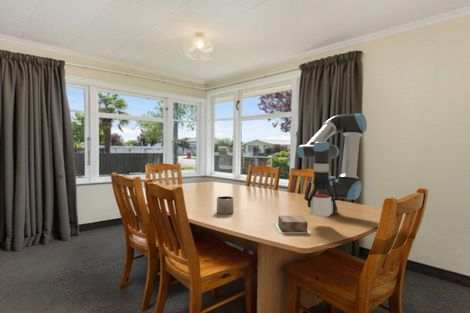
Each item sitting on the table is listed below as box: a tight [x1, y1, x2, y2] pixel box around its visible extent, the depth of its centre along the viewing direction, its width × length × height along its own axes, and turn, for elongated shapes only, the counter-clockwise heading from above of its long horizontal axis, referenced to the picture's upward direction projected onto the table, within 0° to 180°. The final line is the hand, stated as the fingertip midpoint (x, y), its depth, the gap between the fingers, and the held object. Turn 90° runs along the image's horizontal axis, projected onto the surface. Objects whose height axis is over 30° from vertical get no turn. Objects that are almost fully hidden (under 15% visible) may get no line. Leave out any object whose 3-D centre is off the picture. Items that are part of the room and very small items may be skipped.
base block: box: [277, 215, 308, 232], centre depth 138 cm, size 12×12×5 cm
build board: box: [273, 223, 313, 235], centre depth 138 cm, size 16×16×2 cm
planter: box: [216, 195, 235, 215], centre depth 176 cm, size 11×11×10 cm
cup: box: [311, 193, 332, 218], centre depth 144 cm, size 10×10×10 cm
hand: (320, 213), depth 144 cm, fingers closed on cup, 10 cm apart
